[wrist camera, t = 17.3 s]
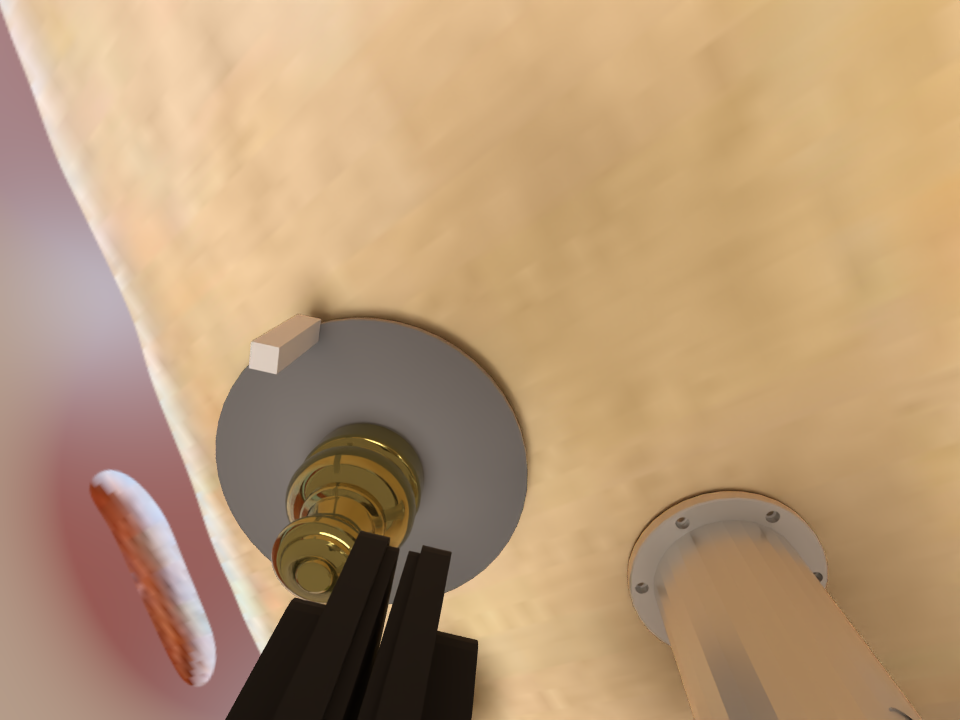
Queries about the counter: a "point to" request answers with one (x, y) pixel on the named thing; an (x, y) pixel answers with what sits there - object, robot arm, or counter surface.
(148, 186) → the counter surface
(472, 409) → the disc
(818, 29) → the counter surface
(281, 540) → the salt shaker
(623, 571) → the counter surface
